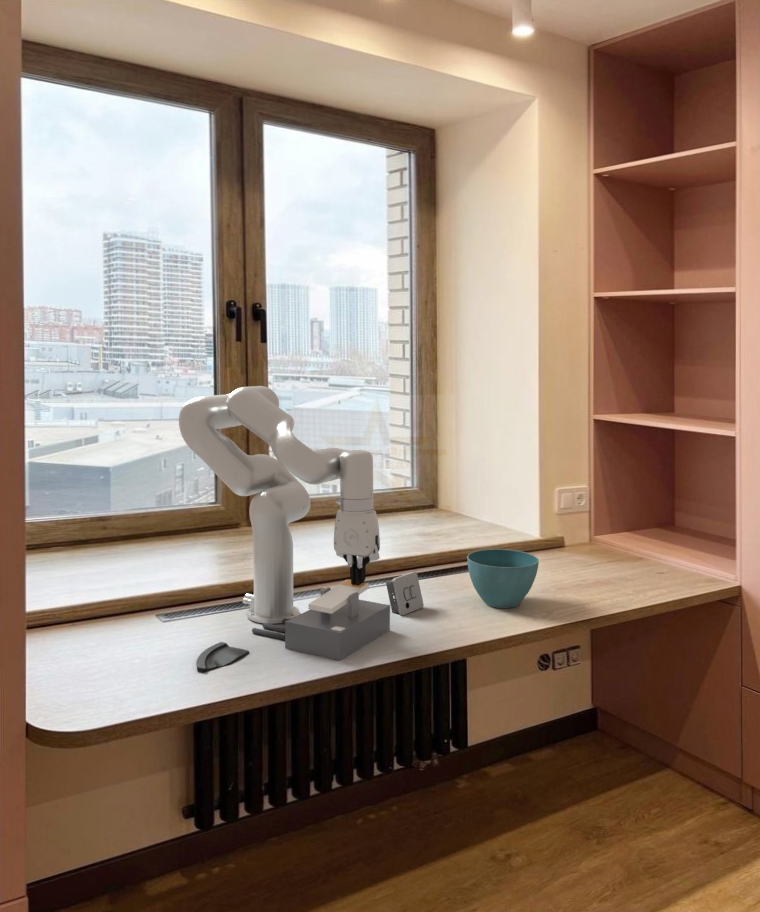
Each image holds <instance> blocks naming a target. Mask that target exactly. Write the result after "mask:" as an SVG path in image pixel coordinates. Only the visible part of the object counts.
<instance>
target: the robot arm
mask: <svg viewBox="0 0 760 912" xmlns="http://www.w3.org/2000/svg"><path fill="white" fill-rule="evenodd" d="M178 426H179V430H180V435H181V437H182V439H183V441H184V443H185V444H186V445H187V447H188V448H189V449H190V450H191V451H193V453H194V454H195V455H196V456H197V457H199V458H200V459H201V460H202V461H203V462H204V463H205V464H206V465H207V466H208V467H209V468H210V470H212V471H213V473H214V474H215V476H217V477H218V478H219V479H220V480H221V482H223V483H224V484H225V485H226V486H227V488H228V489H229V490H230V491H232V493H234V494H235V495H237V496H239V497H248V496H253V495H254V496H253V498H252V499H251V501H250V504H249V510H248V511H249V519H250V524H251V530H252V543H253V552H252V553H253V594H252V593H246V594H244V596H243V598H242V604H245V605H249V609H248V610H247V614H246V615H247V618H248V619H249V620H250V621H253V622H255V623H259V624H264V623H268V624H273V625H277V624H283V623H282V620H283V619H291V618H294V617H296V616H298V615H300V614H301V613H300V609H299V608H298V607H297V606H294V540H293V537H292V534H291V531H290V528H289V524H291V523H293V522H296V521H299V520H301V519H303V518H304V517H305V516H307V514H308V513H309V511H310V509H311V497H310V494H309V492H308V490H306V487H305V486H304V485H303V484H302V483H301V482H300V481H299V480H301V481H302V482H304V483H306V484H309V485H315V486H316V485H320V484H321V485H322V484H323V483H327V482H331V481H335V480H339V481H340V482H339V487H340V488H339V490H340V491H339V492H340V494H339V495H340V496H339V498H336V501H335V503H336V505H339V507H340V508H339V509H338V510H337V512H336V515H335V521H334V528H333V529H334V531H333V550H334V551H335V555H336V556H338V558H339V557H340V558H342V559H344V560H345V562H346V563H347V566H348V568H349V580H351V584H356V585H360V584H362V583H363V582H364V583H366V582H365V581H366V573H367V571H366V567H367V566H368V565H369V563H370V562H375V561H379V560H380V558H381V557H380V553H379V552H380V550H381V549H380V546H381V537H380V536H381V535H380V527H379V519H378V514H377V511H376V510H374V457H373V454H372V453H371V452H370V451H367V450H361V449H360V450H347V449H343V448H338V447H328V448H327V447H326V448H323V449H318V450H313V449H312V448H309V446H307V445H305V444H304V443H303V442H301V441H300V440H299V438H297V437H296V436H295V434H294V433H293V430H294V428H295V427H294V426H295V420H294V418H293V417H292V415H290V414H289V413H287V412H286V411H284V410H283V409H282V408H280V401H279V398H278V396H277V394H276V392H274V390H272V389H271V388H270V387H267V386H264V385H257V386H256V385H254V386H242V387H238V388H236V389H235V390H233V391H232V392H231V393H226V394H217V395H216V394H214V395H203V396H196V397H194V398H191V399H189V400H188V401H186V402H185V403H184V404H183V406H181V408H180V411H179V416H178ZM237 426H238V427H240V426H244V427H245V428H246V429H247V430H249V431H250V432H252V433H253V434H255V435H256V436H257V437H258V438H260V439H261V440H262V441H264V442H265V443H266V444H268V445H269V447H270V449H271V452H272V453H273V455H274V457H275V458H274V457H273V456H271V455H269V454H263V453H257V454H253V455H249V454H247V453H246V452H244V451H243V450H242V449H241V448H240V447H239V446H238V445H237V444H236V443H235V442H234V441H233V440H232V439H230V438H229V437H228V436H226V435H224V434H223V433H221V432H220V431H218V430H221V429H230V428H233V427H237ZM297 478H298V479H299V480H298V479H297Z"/></svg>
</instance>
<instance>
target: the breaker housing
mask: <svg viewBox="0 0 760 912" xmlns="http://www.w3.org/2000/svg"><path fill="white" fill-rule="evenodd" d="M331 589H332V588H331V587H329V586H328V587H325V588H323V589H320V596H322V595H323V594H325V593H326V592H328V591H329V590H331ZM359 597H360V595H359V593H358V592H355V593H353V594H351V595H349V602H348V603H347V604H345V605H344V606H343V607H341V608H340V609H338V610H337V611H335V612H334V613H332V614H330V613H325V612H320V611H315V610H310V609H307V611H304V612H301V613H300V615H298V616H296V617H294V618H291V619H289V620H287V621H285V624H284V627H285V633H284V634H285V640H284V644H285V645H284V647H285V649H287V650H292V651H295V652H302V653H305V654H310V655H313V656H318V657H322V658H327V659H332V660H335V661H342V660H343V659H345V658H347V657H349V655H351V654H353V653H355V652H356V651H359V650H360V649H361V648H363V647H364V646H367V645H368V644H369V643H371V642H372V641H375V640H376V639H378V638H379V637H381V636H383V635H384V634H386V633H388V632H390V629H391V628H390V627H391V605H390V604H385V603H381V602H374V601H369V600H365V599H360V598H359ZM387 631H388V632H387ZM382 634H383V635H382Z"/></svg>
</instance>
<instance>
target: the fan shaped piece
mask: <svg viewBox="0 0 760 912" xmlns="http://www.w3.org/2000/svg"><path fill="white" fill-rule="evenodd" d="M249 654H250V650H248V649H243V648H239V647H233V646H229V644H228V643H227V642H224V641H223V642H222V641H220V642H218V643H215V644H213V645H211V646H209V647H207V648H206V649H204V650H203V651H202V652H201V653H200V654H199V656H198V657H197V659H196V662H195V663H196V664H195V666H196V671H197V672H198V673H203V674H204V673H207V672H209V671H212V670H215V669H218V668H223V667H228V666H231V665H232V664H235V663H236V662H238V661H240V660H242V659H243V658H244V657H246V656H247V655H249Z"/></svg>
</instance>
